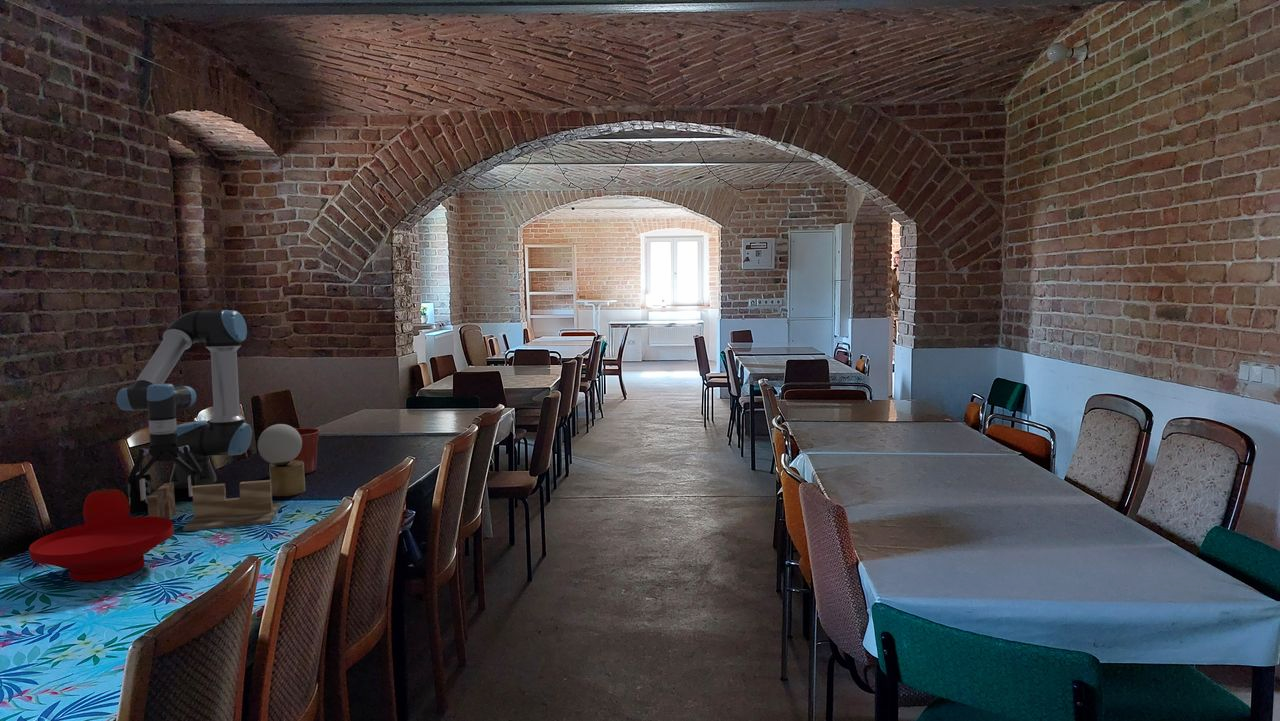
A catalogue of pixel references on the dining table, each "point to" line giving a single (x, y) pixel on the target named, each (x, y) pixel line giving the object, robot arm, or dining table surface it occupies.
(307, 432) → the flower pot
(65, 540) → the bowl
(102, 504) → the tomato
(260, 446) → the lamp
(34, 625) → the dining table surface
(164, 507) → the walnut plate
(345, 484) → the dining table surface
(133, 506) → the beverage can
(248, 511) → the wooden joinery piece
